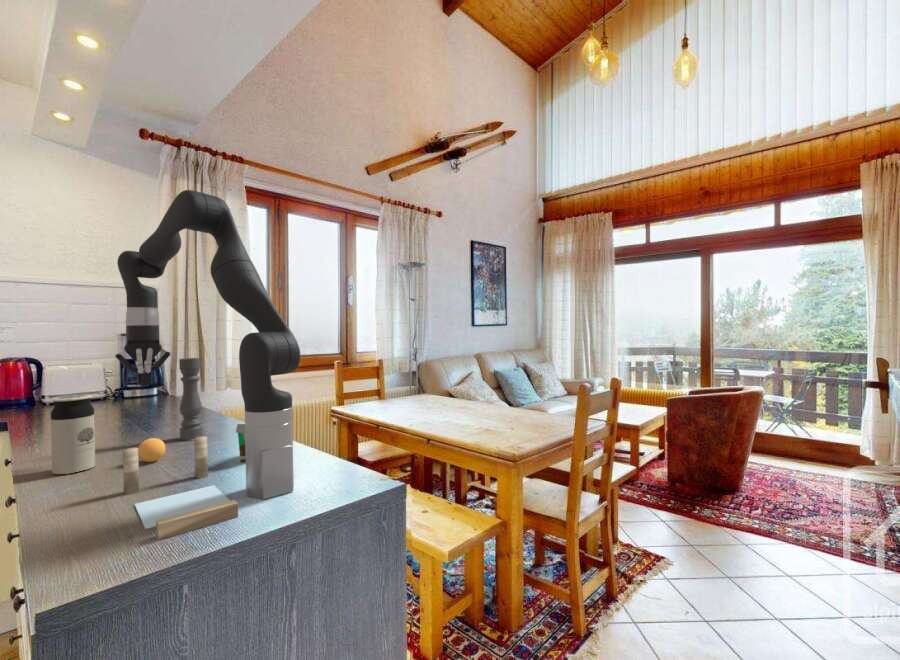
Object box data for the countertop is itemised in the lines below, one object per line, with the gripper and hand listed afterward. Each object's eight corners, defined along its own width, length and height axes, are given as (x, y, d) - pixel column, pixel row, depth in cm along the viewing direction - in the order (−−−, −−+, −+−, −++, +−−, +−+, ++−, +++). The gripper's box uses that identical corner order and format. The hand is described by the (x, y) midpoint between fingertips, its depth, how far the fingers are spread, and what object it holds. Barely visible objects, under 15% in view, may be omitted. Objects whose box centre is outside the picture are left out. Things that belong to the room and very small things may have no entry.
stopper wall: (238, 516, 77) (237, 503, 77) (158, 539, 69) (158, 524, 69) (234, 513, 79) (234, 499, 79) (156, 535, 71) (156, 520, 71)
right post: (209, 476, 99) (208, 437, 99) (196, 479, 97) (195, 439, 97) (206, 473, 101) (205, 435, 101) (193, 476, 99) (193, 437, 99)
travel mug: (44, 473, 103) (42, 398, 103) (83, 463, 110) (81, 393, 110) (64, 477, 100) (62, 400, 100) (102, 466, 107) (101, 395, 107)
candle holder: (175, 439, 132) (173, 359, 132) (193, 434, 138) (192, 357, 138) (189, 441, 130) (187, 359, 130) (207, 436, 136) (205, 358, 136)
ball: (167, 461, 110) (167, 438, 110) (139, 466, 106) (138, 442, 106) (163, 456, 115) (163, 434, 115) (136, 461, 111) (135, 438, 111)
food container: (258, 465, 106) (257, 425, 106) (236, 464, 108) (235, 424, 108) (286, 451, 118) (285, 415, 118) (266, 450, 120) (266, 414, 120)
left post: (139, 491, 90) (139, 449, 90) (124, 495, 88) (123, 451, 88) (138, 488, 92) (137, 446, 92) (123, 491, 90) (122, 449, 90)
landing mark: (233, 505, 82) (233, 504, 82) (145, 529, 73) (145, 528, 73) (214, 486, 93) (214, 485, 93) (134, 505, 83) (134, 504, 83)
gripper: (113, 324, 111) (115, 390, 111) (173, 323, 120) (174, 385, 120) (111, 324, 117) (112, 387, 117) (168, 324, 126) (169, 382, 126)
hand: (144, 386), depth 119 cm, fingers closed
